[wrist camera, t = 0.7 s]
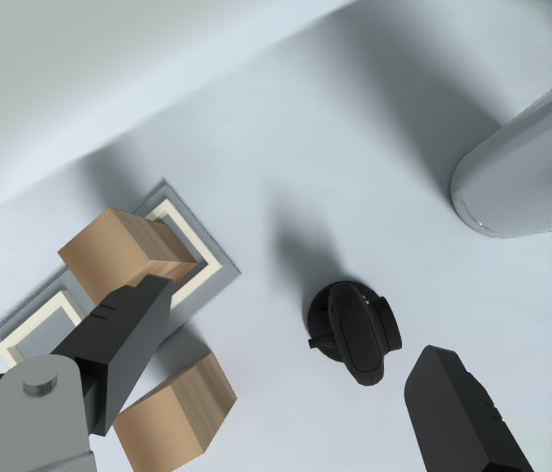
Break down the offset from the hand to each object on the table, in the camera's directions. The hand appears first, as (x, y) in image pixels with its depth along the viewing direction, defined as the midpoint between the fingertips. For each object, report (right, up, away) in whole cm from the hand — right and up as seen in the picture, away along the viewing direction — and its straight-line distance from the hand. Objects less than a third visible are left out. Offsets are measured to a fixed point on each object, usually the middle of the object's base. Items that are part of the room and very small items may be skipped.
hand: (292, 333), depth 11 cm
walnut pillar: (-8, -12, +23) cm, 27 cm away
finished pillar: (-12, +1, +23) cm, 26 cm away
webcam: (+6, -5, +22) cm, 24 cm away
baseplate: (-17, -4, +25) cm, 30 cm away
